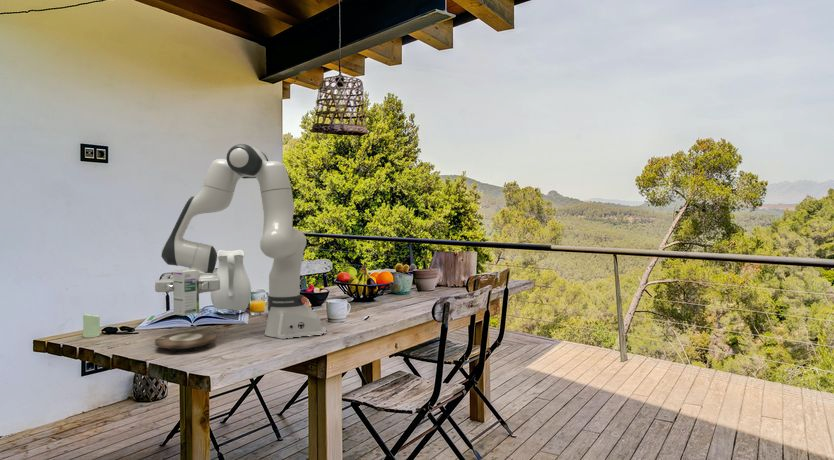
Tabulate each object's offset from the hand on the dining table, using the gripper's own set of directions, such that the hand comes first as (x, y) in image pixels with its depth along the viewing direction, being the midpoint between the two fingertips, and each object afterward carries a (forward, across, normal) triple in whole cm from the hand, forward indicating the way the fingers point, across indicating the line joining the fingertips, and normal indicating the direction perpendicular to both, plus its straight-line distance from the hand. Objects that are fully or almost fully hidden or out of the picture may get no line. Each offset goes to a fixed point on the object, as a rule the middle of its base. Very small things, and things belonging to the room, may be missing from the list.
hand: (185, 287), depth 165 cm
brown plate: (-1, 0, +18) cm, 18 cm away
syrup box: (-1, 0, +9) cm, 9 cm away
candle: (-26, -34, +20) cm, 48 cm away
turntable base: (-1, 0, +20) cm, 20 cm away
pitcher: (-56, +11, +20) cm, 61 cm away
